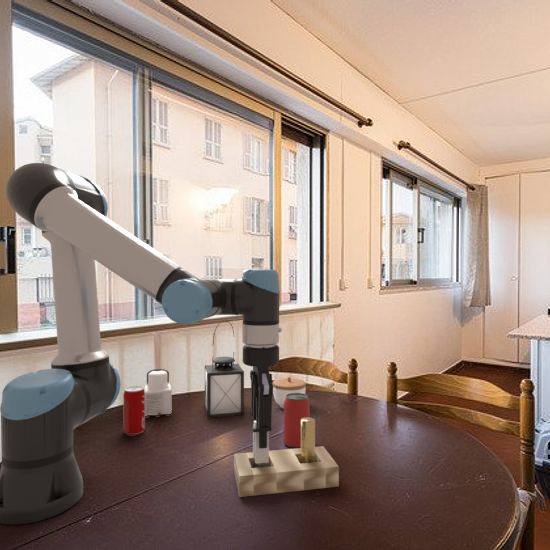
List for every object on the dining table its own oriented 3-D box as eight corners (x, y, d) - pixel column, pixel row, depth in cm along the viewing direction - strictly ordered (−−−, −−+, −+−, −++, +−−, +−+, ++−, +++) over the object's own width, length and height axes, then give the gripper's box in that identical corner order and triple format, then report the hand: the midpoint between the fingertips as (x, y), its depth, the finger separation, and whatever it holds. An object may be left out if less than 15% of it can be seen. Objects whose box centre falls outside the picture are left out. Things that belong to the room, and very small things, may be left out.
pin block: (239, 497, 79) (239, 476, 79) (233, 472, 89) (234, 453, 89) (338, 486, 83) (338, 466, 83) (323, 464, 93) (323, 446, 93)
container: (144, 409, 130) (144, 368, 130) (170, 407, 132) (170, 366, 132) (144, 418, 122) (144, 374, 122) (171, 415, 125) (171, 372, 125)
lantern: (238, 403, 136) (238, 318, 136) (244, 415, 125) (244, 322, 125) (204, 406, 133) (204, 319, 133) (207, 418, 122) (206, 323, 122)
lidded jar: (311, 404, 135) (311, 375, 135) (295, 413, 126) (295, 383, 126) (283, 399, 141) (283, 371, 141) (266, 407, 132) (266, 378, 132)
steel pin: (254, 483, 83) (254, 424, 83) (252, 476, 86) (252, 419, 86) (269, 482, 84) (269, 423, 84) (266, 475, 87) (267, 418, 87)
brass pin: (302, 481, 85) (302, 422, 85) (299, 474, 88) (299, 417, 88) (316, 479, 86) (316, 421, 86) (312, 472, 89) (312, 416, 89)
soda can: (145, 434, 110) (145, 389, 110) (123, 437, 108) (123, 391, 108) (144, 427, 115) (144, 383, 115) (123, 429, 113) (123, 385, 113)
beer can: (308, 450, 100) (308, 400, 100) (281, 447, 101) (281, 399, 101) (311, 439, 106) (311, 392, 106) (286, 437, 108) (286, 391, 108)
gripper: (287, 350, 78) (287, 475, 78) (271, 338, 93) (271, 442, 93) (247, 352, 76) (247, 479, 77) (238, 339, 92) (238, 445, 92)
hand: (260, 458), depth 85 cm, fingers closed on steel pin, 2 cm apart
